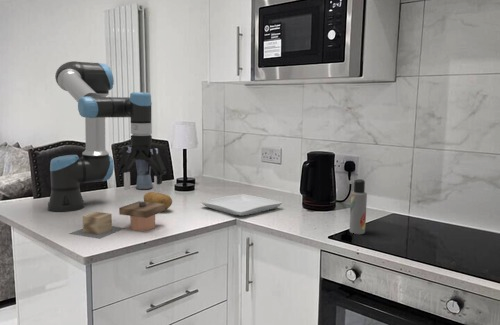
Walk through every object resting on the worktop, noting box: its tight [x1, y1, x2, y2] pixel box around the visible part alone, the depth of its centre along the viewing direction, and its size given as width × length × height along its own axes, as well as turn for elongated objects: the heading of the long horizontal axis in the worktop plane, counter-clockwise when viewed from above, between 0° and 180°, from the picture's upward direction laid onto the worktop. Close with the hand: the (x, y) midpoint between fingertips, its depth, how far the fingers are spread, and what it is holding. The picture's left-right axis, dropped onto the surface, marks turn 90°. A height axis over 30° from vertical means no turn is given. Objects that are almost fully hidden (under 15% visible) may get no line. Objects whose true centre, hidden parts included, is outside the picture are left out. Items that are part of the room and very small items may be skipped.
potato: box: [143, 191, 173, 211], centre depth 187 cm, size 10×14×8 cm
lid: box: [118, 200, 166, 218], centre depth 160 cm, size 12×12×4 cm
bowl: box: [129, 214, 157, 231], centre depth 161 cm, size 9×9×6 cm
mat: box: [68, 225, 126, 240], centre depth 156 cm, size 14×14×1 cm
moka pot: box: [134, 157, 153, 190], centre depth 235 cm, size 10×15×20 cm, turn 40°
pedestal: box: [82, 211, 113, 235], centre depth 155 cm, size 7×7×6 cm
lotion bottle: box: [349, 178, 368, 235], centre depth 158 cm, size 6×6×20 cm
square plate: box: [200, 193, 283, 217], centre depth 194 cm, size 27×27×4 cm
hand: (142, 191), depth 160 cm, fingers open, 13 cm apart
